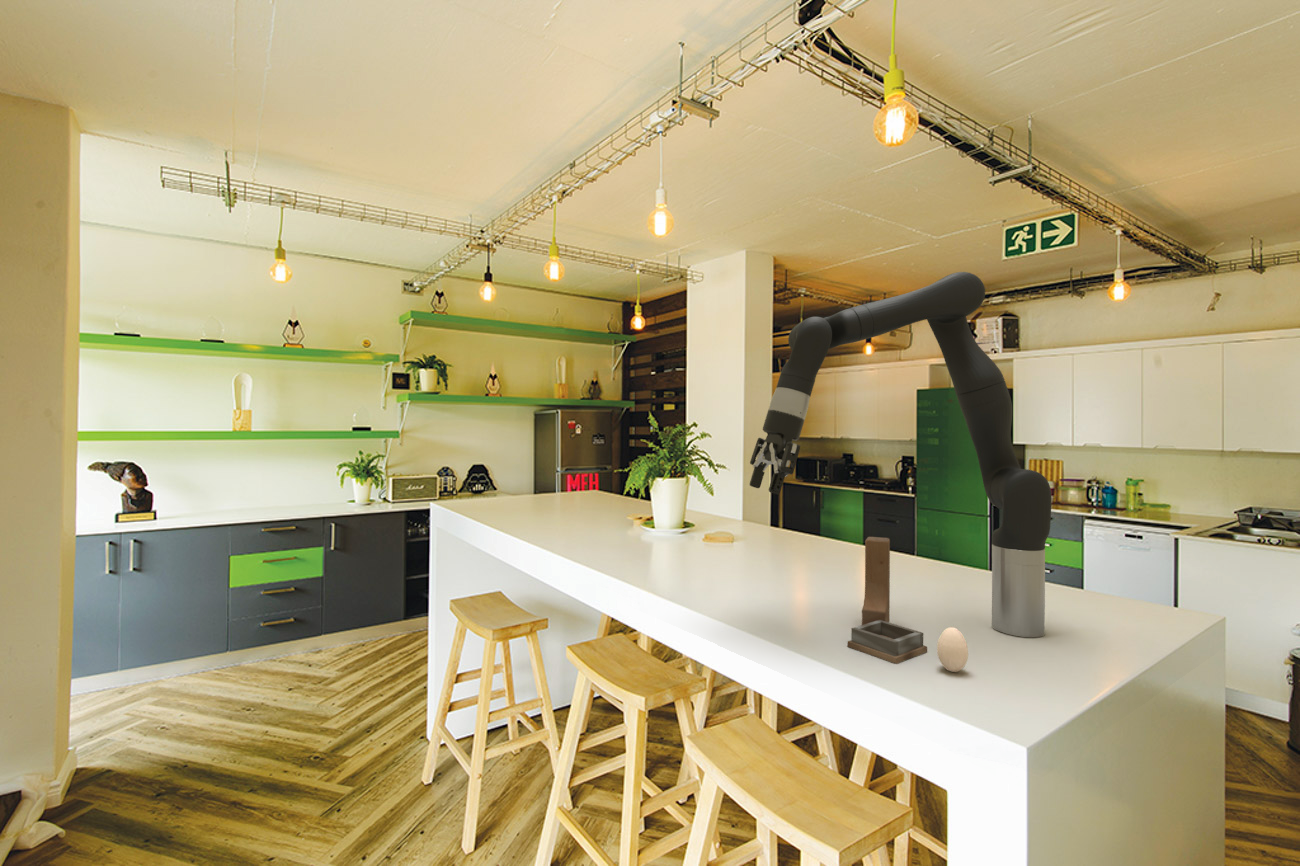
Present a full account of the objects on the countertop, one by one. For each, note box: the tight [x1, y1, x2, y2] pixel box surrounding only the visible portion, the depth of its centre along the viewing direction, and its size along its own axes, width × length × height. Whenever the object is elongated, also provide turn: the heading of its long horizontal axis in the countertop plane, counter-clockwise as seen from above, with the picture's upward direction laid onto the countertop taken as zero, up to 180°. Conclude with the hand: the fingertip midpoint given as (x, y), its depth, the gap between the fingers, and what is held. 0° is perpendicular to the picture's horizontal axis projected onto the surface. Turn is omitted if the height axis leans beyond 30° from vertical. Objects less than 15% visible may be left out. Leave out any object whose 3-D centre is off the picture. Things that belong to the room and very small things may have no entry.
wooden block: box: [861, 536, 891, 625], centre depth 122 cm, size 9×4×18 cm, turn 152°
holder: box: [846, 620, 928, 665], centre depth 109 cm, size 10×10×4 cm
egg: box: [936, 626, 969, 673], centre depth 99 cm, size 5×5×7 cm
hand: (763, 490), depth 118 cm, fingers open, 8 cm apart
